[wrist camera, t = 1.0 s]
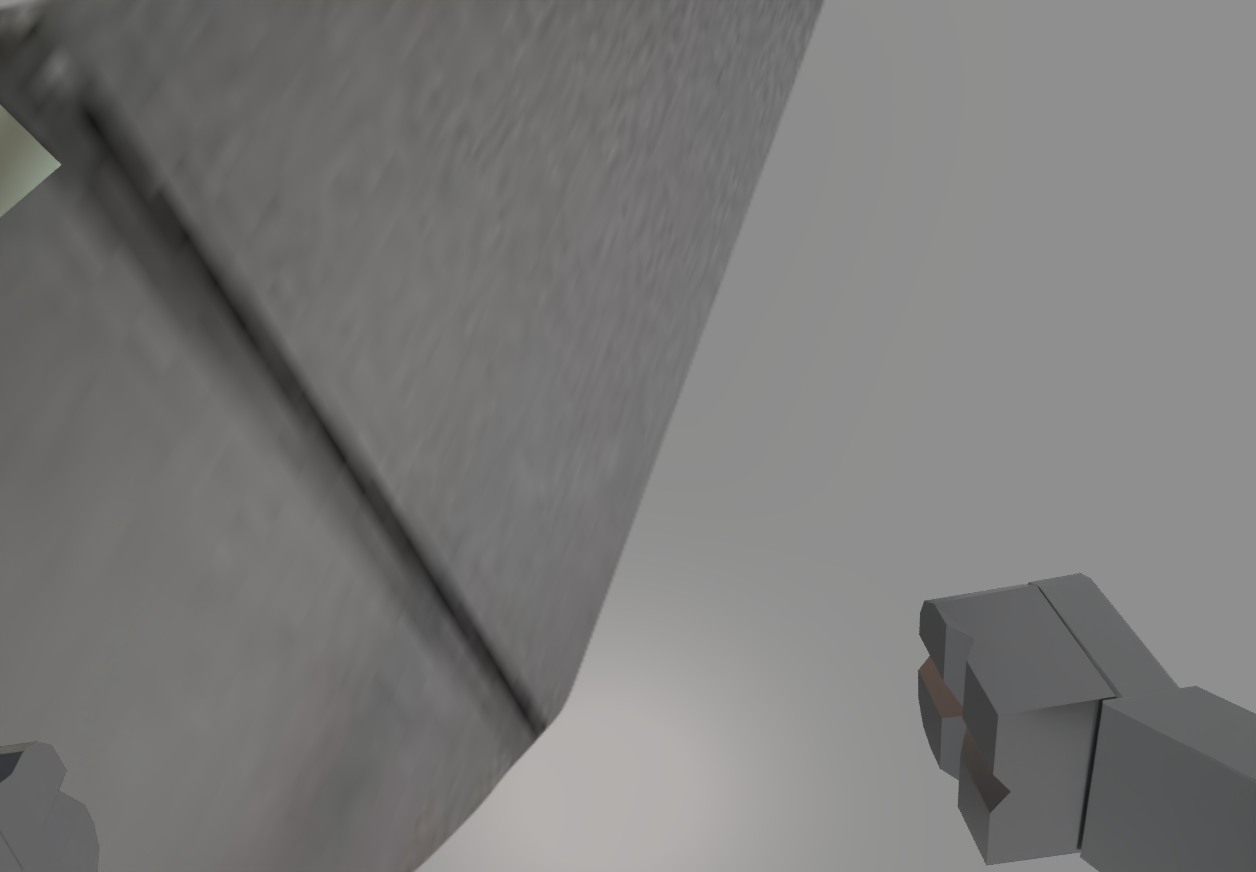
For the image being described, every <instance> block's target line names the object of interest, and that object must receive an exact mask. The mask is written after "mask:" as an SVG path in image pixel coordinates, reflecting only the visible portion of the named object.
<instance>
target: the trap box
mask: <svg viewBox="0 0 1256 872" xmlns="http://www.w3.org/2000/svg"><path fill="white" fill-rule="evenodd" d="M59 166H61V164H60V163H59V162H58V161H57V160H56V159H55V158H54V157H53V156H52V155H51V154H50V153H49V152H48V151H47V150H46V149H45V148H44V147H43V146H42V145H41V144H40V143H39V142H38V141H37V140H36V139H35V138H34V137H33V136H32V135H31V134H30V133H29V132H28V131H27V130H26V129H25V128H24V127H22V126H21V125H20V124H19V123H18V122H17V121H16V120H15V119H14V118H13V117H12V116H11V115H10V114H9V113H8V112H7V111H6V110H5V109H4V108H3V107H2V106H1V105H0V217H1V216H2V215H4V214H5V213H6V212H7V211H8V210H9V209H11V208H12V207H13V206H14V205H15V204H16V203H18V202H19V201H20V200H21V199H22V198H23V197H25V196H26V195H27V194H28V193H29V192H30V191H32V190H33V189H34V188H35V187H36V186H37V185H39V184H40V183H41V182H42V181H43V180H44V179H46V178H47V177H48V176H49V175H50V174H51V173H52V172H54V171H55V170H56V169H57V168H58V167H59Z"/></svg>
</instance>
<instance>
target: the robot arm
mask: <svg viewBox="0 0 1256 872" xmlns="http://www.w3.org/2000/svg"><path fill="white" fill-rule="evenodd" d="M919 632H920V633H919V635H920V637H921V639H922V641H923V642H924V645H925V646H926V648H927V650H928V652H929V654H930V656H929V658H928V659H927V660H926V661H925V663H924V664H923V665H922V666H921V668H920V669H919V670H918V698H919V704H920V710H921V716H922V721H923V727H924V730H925V733H926V736H927V738H928V741H929V744H930V748H931V750H932V752H933V754H934V756H935V759H936V761H937V763H938V765H939V767H940V769H942V770H943V771H945V772H946V773H948V774H949V775H951V776H953V777H954V778H956V779H958V780H959V792H958V808H959V810H960V812H961V814H962V816H963V818H964V820H965V822H966V824H967V826H968V828H969V830H970V832H971V835H972V836H973V839H974V841H975V843H976V845H977V847H978V849H979V851H980V853H981V855H982V857H983V859H984V861H985V863H986V865H993V864H1000V863H1007V862H1014V861H1021V860H1028V859H1035V858H1042V857H1050V856H1057V855H1064V854H1072V853H1079V852H1081V855H1080V857H1081V858H1082V859H1083V860H1085V861H1086V862H1087V863H1089V864H1090V865H1091V866H1093V867H1094V868H1095V869H1097V870H1098V871H1099V872H1256V714H1255V713H1253V712H1250V711H1248V710H1246V709H1244V708H1242V707H1240V706H1237V705H1236V704H1233V703H1231V702H1229V701H1227V700H1225V699H1223V698H1221V697H1218V696H1216V695H1214V694H1212V693H1210V692H1208V691H1205V690H1203V689H1201V688H1199V687H1197V686H1193V687H1186V688H1179V687H1178V685H1177V684H1176V683H1175V682H1174V680H1173V679H1172V678H1171V677H1170V676H1169V674H1168V673H1167V672H1166V671H1165V669H1164V668H1163V667H1162V666H1161V664H1160V663H1159V662H1158V661H1157V659H1156V658H1155V657H1154V656H1153V654H1152V653H1151V652H1150V651H1149V650H1148V648H1147V647H1146V646H1145V645H1144V643H1143V642H1142V641H1141V640H1140V639H1139V637H1138V636H1137V635H1136V634H1135V632H1134V631H1133V630H1132V629H1131V628H1130V626H1129V625H1128V624H1127V623H1126V621H1125V620H1124V619H1123V618H1122V616H1121V615H1120V614H1119V613H1118V611H1117V610H1116V609H1115V608H1114V606H1113V605H1112V604H1111V603H1110V602H1109V600H1108V599H1107V598H1106V596H1105V595H1104V594H1103V593H1102V592H1101V590H1100V589H1099V588H1098V587H1097V585H1096V584H1095V583H1094V582H1093V580H1092V579H1091V578H1089V577H1087V576H1085V575H1083V574H1081V573H1079V574H1073V575H1068V576H1062V577H1056V578H1051V579H1045V580H1039V581H1034V582H1029V583H1028V584H1027V585H1017V586H1011V587H1005V588H998V589H992V590H987V591H981V592H975V593H968V594H963V595H956V596H950V597H944V598H939V599H932V600H926V601H924V603H923V606H922V609H921V612H920V631H919ZM66 771H67V770H66V768H65V766H64V765H63V763H62V761H61V760H60V758H59V756H58V755H57V753H56V751H55V749H54V748H53V746H52V745H50V744H46V743H41V742H37V741H36V742H29V743H21V744H14V745H7V746H0V872H98V860H99V844H98V839H97V834H96V830H95V825H94V822H93V820H92V818H91V816H90V814H89V812H88V810H87V808H86V806H85V805H84V804H83V803H81V802H79V801H77V800H76V799H74V798H72V797H70V796H68V795H67V794H65V793H63V792H61V791H60V790H59V788H60V786H61V784H62V781H63V779H64V776H65V774H66Z"/></svg>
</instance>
